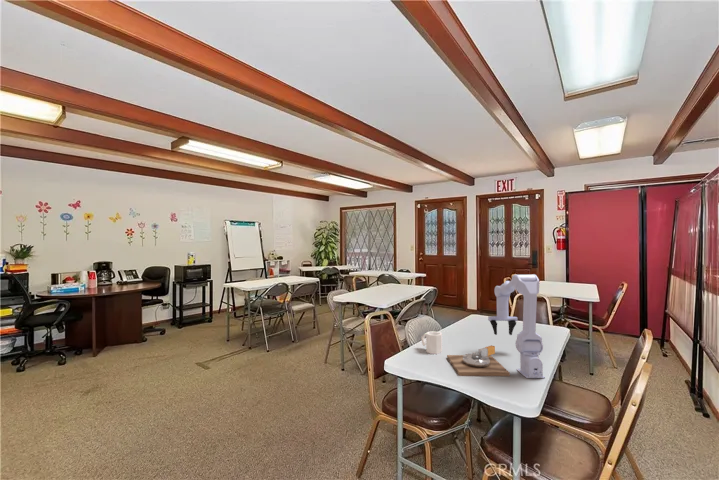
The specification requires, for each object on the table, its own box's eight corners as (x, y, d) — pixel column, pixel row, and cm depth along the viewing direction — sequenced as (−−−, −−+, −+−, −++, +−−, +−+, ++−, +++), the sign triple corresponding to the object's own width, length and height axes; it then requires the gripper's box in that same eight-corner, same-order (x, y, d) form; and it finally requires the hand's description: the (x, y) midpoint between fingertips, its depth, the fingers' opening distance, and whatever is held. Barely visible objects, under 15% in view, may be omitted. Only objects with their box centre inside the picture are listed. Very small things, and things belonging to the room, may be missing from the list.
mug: (445, 351, 173) (444, 333, 174) (437, 355, 167) (436, 336, 167) (425, 346, 182) (425, 329, 182) (417, 350, 175) (417, 332, 175)
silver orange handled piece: (478, 369, 144) (478, 357, 144) (457, 361, 154) (457, 349, 154) (504, 360, 154) (504, 349, 154) (482, 353, 164) (482, 342, 164)
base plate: (509, 376, 141) (509, 372, 141) (459, 375, 141) (459, 371, 141) (490, 357, 163) (490, 354, 163) (446, 357, 164) (446, 354, 164)
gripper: (513, 307, 174) (514, 332, 173) (486, 307, 175) (486, 332, 174) (519, 310, 166) (519, 336, 166) (490, 309, 168) (490, 335, 167)
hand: (502, 334), depth 170 cm, fingers open, 7 cm apart
